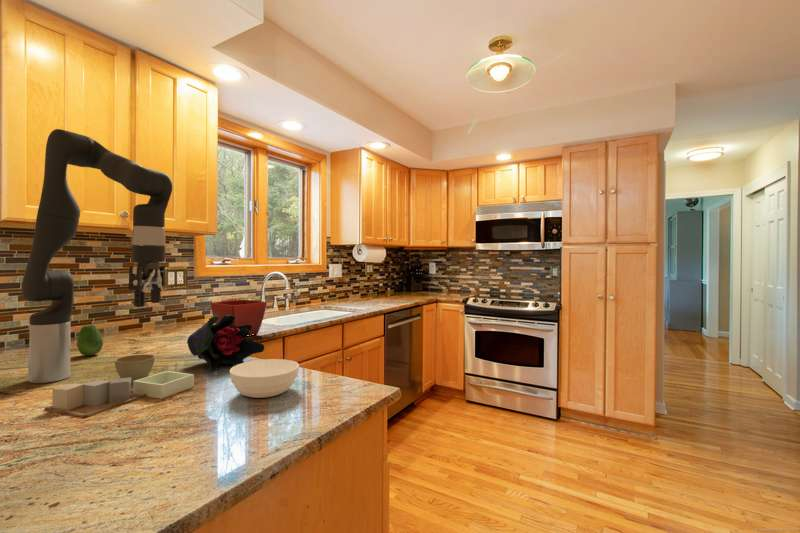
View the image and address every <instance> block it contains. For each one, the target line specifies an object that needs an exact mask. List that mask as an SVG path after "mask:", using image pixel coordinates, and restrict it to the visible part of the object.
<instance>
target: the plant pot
mask: <svg viewBox="0 0 800 533" xmlns="http://www.w3.org/2000/svg"><path fill="white" fill-rule="evenodd" d="M210 308H211V313H212V317H213V316H214V315H215V314H216V315H217V316H218V317H219V318H218V320H216V322H215V323H214V324H216V323H218V322H219V321H220V320H221V319H222V317H223V316H224V315H233V316H235V319H234V321H233V322H232V325H231V327H232V326H243V325H250V326H252V329H251V330H249V334H248V335H252V334H257V335H258V334H259V331H260V329H261V326H262V323H263V320H264V316H265V312H266V308H267V301H262V300H261V301H260V300H252V299H238V300H237V299H236V300H234V299H233V300H225V301H222V300H221V301H214V302H210Z"/></svg>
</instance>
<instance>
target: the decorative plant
mask: <svg viewBox="0 0 800 533" xmlns="http://www.w3.org/2000/svg"><path fill="white" fill-rule="evenodd" d="M218 318H219V317H218V316H217V315H216V314H215V315H214V316H213V315H212V316H211V317H209V319H208V320H207V321H206V322H205V323H204V324H203V325H202V326H201V327H200V328H197V329H196V330H195V331H194V332H192V333H191V334H190V335H189V336H188V338H187V341H186V342H187V347H188V350H189V351H190V353H191V355H192V356H194V357H195V356H197V358H198V359H199V360H204V361H205V362H206V363H207V364H208V366H209V368H210V372H216V371H217V370H218V367H219V366H220V363H222V364H229V365H232V366H236V365H238V364H241V363H245V361H244V360H245V359H247V358H249V357H250V356H252V355H255V354H260V353H263V352H264V351H265V346H264V344H263V343H261V342H257V341H253V340H251V339H249V338H248V337H246V336H247V335H248V334H249V330H251V329H252V326H250V325H243V326H232V327H231V325H232V322H233V321H234V319H235V316H233V315H224V316H223V317H222V319H221V320H220V321H219V322H218V323H216V324H215V322H216V320H218Z"/></svg>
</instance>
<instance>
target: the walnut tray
mask: <svg viewBox="0 0 800 533" xmlns="http://www.w3.org/2000/svg"><path fill="white" fill-rule="evenodd" d="M147 397H148V396H147V394H144V395H136V394H133V389H131V398H130V399H129V400H127V401H124V402H117V403H109V402H106V403H103V404H100V405H97V406H89V405H81V406H78V407H75V408H73V409H70V410H62V409H56V408H52V405H49V406H46V407H44V411H47V412H53V413H56V414H57V413H58V414H59V413H60V414H63V415H68V416H73V417H78V418H84V419H86V418H90V417H92V416H95V415H98V414H101V413H103V412H106V411H110V410H112V409H115V408H118V407H120V406H123V405H127V404H129V403H132V402H135V401H137V400H141V399H143V398H147Z"/></svg>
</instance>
